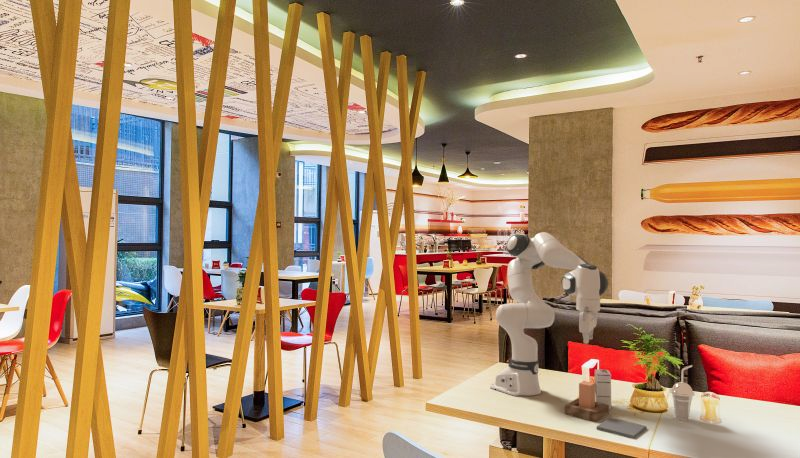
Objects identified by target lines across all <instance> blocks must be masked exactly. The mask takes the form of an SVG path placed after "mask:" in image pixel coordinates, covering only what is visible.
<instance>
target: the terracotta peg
mask: <svg viewBox="0 0 800 458" xmlns="http://www.w3.org/2000/svg"><path fill="white" fill-rule="evenodd" d="M578 398H579V406H580V407H584V408H588V409H594V408H595V382H590V381H586V380H583V381H581V382H579V383H578Z"/></svg>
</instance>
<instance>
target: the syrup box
mask: <svg viewBox="0 0 800 458" xmlns="http://www.w3.org/2000/svg"><path fill="white" fill-rule="evenodd" d="M594 383H595V402H599V403H603V404H607V405H609V410H612V374H611V372H610V370H608V369H594Z"/></svg>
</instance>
